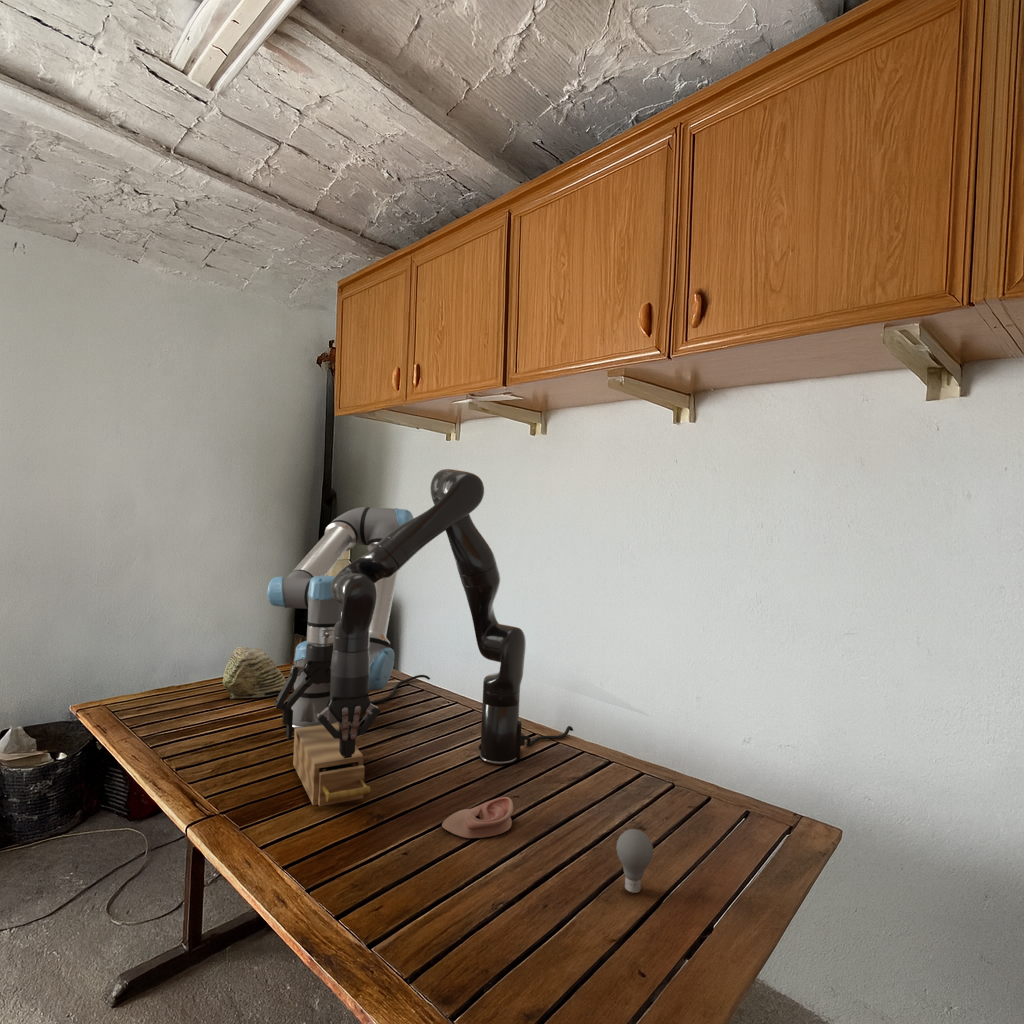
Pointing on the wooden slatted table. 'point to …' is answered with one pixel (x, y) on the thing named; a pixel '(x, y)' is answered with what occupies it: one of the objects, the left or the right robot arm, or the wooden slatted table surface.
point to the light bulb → (634, 857)
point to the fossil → (252, 674)
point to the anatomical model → (481, 819)
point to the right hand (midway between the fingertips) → (346, 756)
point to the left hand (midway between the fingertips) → (319, 734)
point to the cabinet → (317, 756)
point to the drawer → (341, 784)
